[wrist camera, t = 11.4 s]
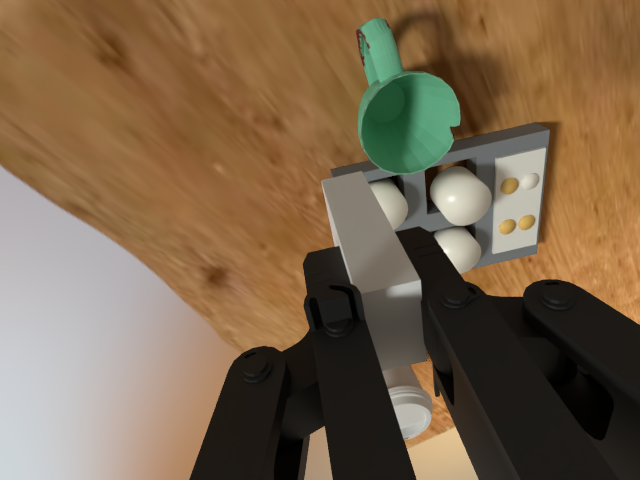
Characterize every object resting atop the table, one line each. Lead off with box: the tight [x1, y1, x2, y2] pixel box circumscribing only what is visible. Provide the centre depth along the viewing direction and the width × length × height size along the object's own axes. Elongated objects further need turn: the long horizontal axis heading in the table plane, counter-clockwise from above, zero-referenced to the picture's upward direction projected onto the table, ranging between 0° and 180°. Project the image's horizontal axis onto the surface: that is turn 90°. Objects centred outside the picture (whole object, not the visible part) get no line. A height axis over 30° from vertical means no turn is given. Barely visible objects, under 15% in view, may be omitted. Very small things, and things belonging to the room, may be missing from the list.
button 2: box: [368, 177, 408, 230], centre depth 51 cm, size 6×6×4 cm
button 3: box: [431, 225, 481, 274], centre depth 56 cm, size 6×6×4 cm
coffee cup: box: [382, 365, 432, 440], centre depth 62 cm, size 10×10×15 cm
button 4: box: [430, 166, 492, 226], centre depth 49 cm, size 6×6×4 cm
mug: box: [356, 18, 461, 175], centre depth 43 cm, size 15×10×10 cm
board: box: [330, 122, 550, 269], centre depth 55 cm, size 18×26×4 cm
